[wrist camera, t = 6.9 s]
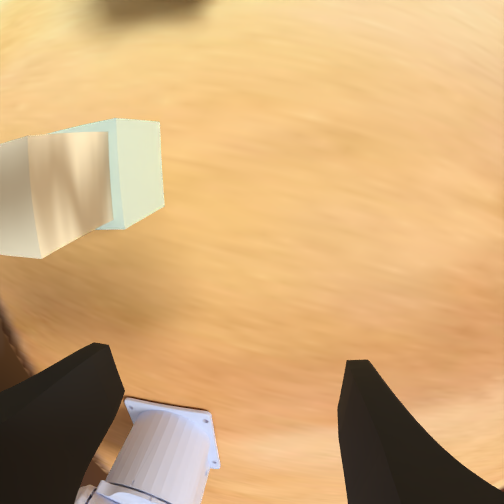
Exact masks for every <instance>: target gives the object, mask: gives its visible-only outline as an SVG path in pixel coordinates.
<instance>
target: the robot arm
mask: <svg viewBox="0 0 504 504" xmlns="http://www.w3.org/2000/svg"><path fill="white" fill-rule="evenodd" d="M124 392H125V390H124V387H123V385H122V382H121V379H120V376H119V374H118V371H117V368H116V365H115V362H114V359H113V356H112V353H111V350H110V347H109V345H106V344H100V343H92V344H90V345H88V346H86V347H84V348H82V349H80V350H78V351H76V352H75V353H73V354H71V355H69V356H68V357H66V358H64V359H62V360H61V361H59V362H57V363H55V364H54V365H52V366H50V367H49V368H47V369H45V370H43V371H42V372H40V373H38V374H36V375H34V376H32V377H30V378H28V379H27V380H25V381H23V382H21V383H19V384H17V385H15V386H13V387H11V388H9V389H6V390H4V391H2V392H0V504H201V500H202V497H203V493H204V489H205V485H206V482H207V478H208V474H209V470H210V468H213V469H219V468H220V465H221V464H220V459H219V454H218V449H217V444H216V438H215V432H214V427H213V421H212V415H211V414H210V413H209V412H208V411H203V410H196V409H189V408H182V407H176V406H170V405H164V404H158V403H153V402H148V401H143V400H138V399H134V398H128V397H127V398H126V399H125V401H124V402H125V405H126V407H127V410H128V412H129V415H130V417H131V419H132V422H133V424H134V425H133V427H132V429H131V431H130V433H129V435H128V437H127V439H126V441H125V442H124V444H123V446H122V448H121V450H120V452H119V454H118V456H117V458H116V460H115V462H114V464H113V466H112V468H111V470H110V472H109V474H108V476H107V478H106V480H105V481H104V480H101V481H100V483H99V486H98V487H97V488H96V487H94V486H92V485H88V486H84V487H82V488H79V487H80V485H81V482H82V479H83V476H84V474H85V472H86V470H87V468H88V466H89V463H90V462H91V460H92V458H93V456H94V454H95V453H96V451H97V449H98V447H99V445H100V443H101V442H102V440H103V438H104V436H105V435H106V433H107V431H108V429H109V427H110V425H111V424H112V422H113V420H114V418H115V416H116V414H117V411H118V409H119V406H120V404H121V401H122V398H123V395H124ZM337 410H338V435H339V444H340V451H341V457H342V464H343V470H344V477H345V484H346V491H347V499H348V504H504V492H502V491H501V490H499V489H497V488H495V487H494V486H492V485H491V484H489V483H488V482H486V481H485V480H483V479H482V478H480V477H479V476H477V475H476V474H475V473H473V472H472V471H470V470H469V469H467V468H466V467H465V466H464V465H462V464H461V463H460V462H459V461H457V460H456V459H455V458H454V457H453V456H451V455H450V454H449V453H448V452H447V451H446V450H445V449H444V448H442V447H441V446H440V445H439V444H438V443H437V442H436V441H435V440H434V439H433V438H432V437H431V436H430V435H429V434H428V433H427V432H426V430H425V429H424V428H423V427H422V426H421V425H420V424H419V423H418V422H417V421H416V420H415V418H414V417H413V416H412V415H411V414H410V413H409V411H408V410H407V409H406V408H405V407H404V405H403V404H402V403H401V402H400V401H399V399H398V398H397V397H396V396H395V394H394V393H393V392H392V391H391V389H390V388H389V387H388V385H387V384H386V383H385V381H384V380H383V379H382V377H381V376H380V375H379V373H378V372H377V371H376V369H375V368H374V367H373V365H372V364H371V363H370V361H369V360H347V362H346V368H345V373H344V379H343V384H342V389H341V394H340V399H339V404H338V409H337Z"/></svg>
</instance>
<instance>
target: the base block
mask: <svg viewBox="0 0 504 504" xmlns="http://www.w3.org/2000/svg"><path fill="white" fill-rule="evenodd" d="M75 132H108V142H109V167H110V184H111V197H112V208H113V218H114V220H112V221H110V222H108V223H106V224H104V225H102V226H100V227H98V228H97V229H95V230H106V229H126V228H128V227H130V226H131V225H133V224H135V223H136V222H138V221H140V220H142V219H143V218H145V217H147V216H148V215H150V214H152V213H154V212H155V211H157V210H159V209H161V208H163V207H164V206H165V205H164V192H163V178H162V161H161V140H160V122H156V121H146V120H135V119H122V118H114V119H109V120H104V121H99V122H94V123H90V124H85V125H81V126H76V127H72V128H68V129H64V130H60V131H56V132H53V133H49V134H57V133H75Z"/></svg>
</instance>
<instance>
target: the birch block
mask: <svg viewBox="0 0 504 504" xmlns="http://www.w3.org/2000/svg"><path fill="white" fill-rule="evenodd" d="M112 220H114V218H113V208H112V197H111V184H110V167H109V142H108V132H75V133H57V134H43V135H32V136H25V137H22V138H18V139H15V140H12V141H8V142H5V143H2V144H0V255H8V256H18V257H28V258H38V259H42V258H44V257H46V256H47V255H49V254H51V253H53V252H54V251H56V250H58V249H60V248H62V247H63V246H65V245H67V244H69V243H70V242H72V241H74V240H76V239H78V238H80V237H82V236H83V235H85V234H87V233H89V232H91V231H93V230H95V229H97V228H98V227H100V226H102V225H104V224H106V223H108V222H110V221H112Z"/></svg>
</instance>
